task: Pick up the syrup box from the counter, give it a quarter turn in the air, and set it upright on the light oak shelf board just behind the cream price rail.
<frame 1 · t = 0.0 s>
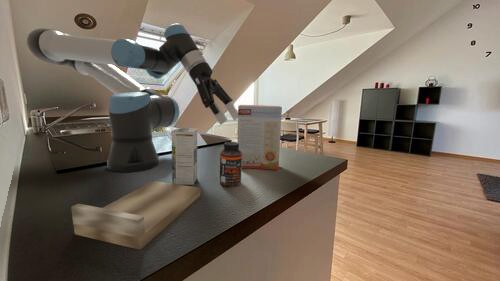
hand: (231, 120, 77), 15 cm above the counter, tool tilted 35°, fingers open, 13 cm apart
cracker box: (257, 167, 77), on the counter
supplement bottle: (230, 183, 62), on the counter
shelf board: (148, 211, 46), on the counter
syrup box: (185, 181, 62), on the counter
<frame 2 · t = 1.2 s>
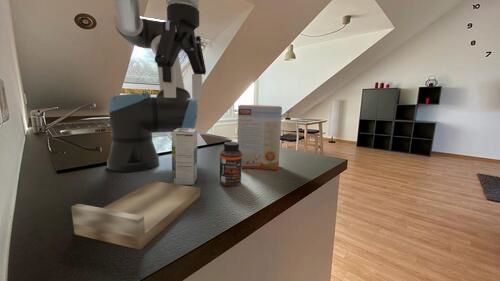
hand: (185, 97, 58), 23 cm above the counter, tool pointing down, fingers open, 13 cm apart
nothing on the counter moved.
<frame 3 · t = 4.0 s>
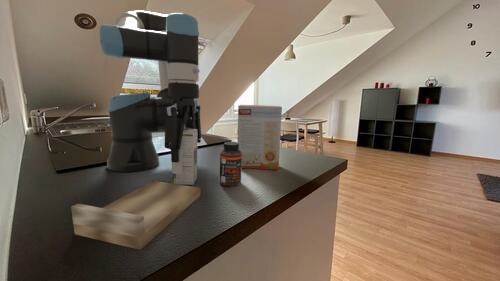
hand: (185, 168, 61), 4 cm above the counter, tool pointing down, fingers closed on syrup box, 7 cm apart
syrup box: (185, 181, 62), on the counter, touching gripper
everything else where it was.
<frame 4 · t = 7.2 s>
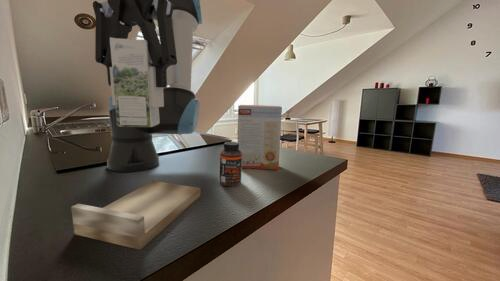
hand: (138, 105, 40), 21 cm above the counter, tool pointing down, fingers closed on syrup box, 7 cm apart
syrup box: (139, 126, 41), point 18 cm above the counter, touching gripper
everything else where it was.
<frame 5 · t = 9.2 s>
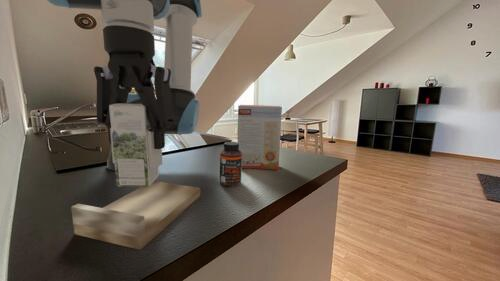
hand: (137, 163, 42), 11 cm above the counter, tool pointing down, fingers closed on syrup box, 7 cm apart
syrup box: (139, 182, 42), point 7 cm above the counter, touching gripper
everything else where it was.
when the fingers open (7 cm above the counter, at t = 10.8 s): syrup box drops 1 cm, resting on shelf board.
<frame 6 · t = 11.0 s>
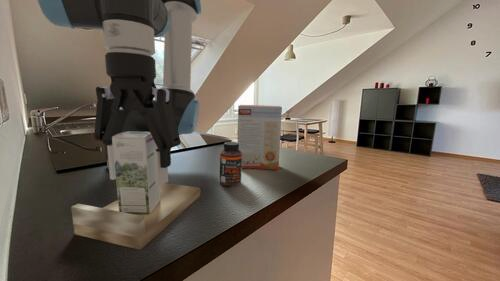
hand: (139, 180, 42), 8 cm above the counter, tool pointing down, fingers open, 9 cm apart
syrup box: (141, 208, 43), point 2 cm above the counter, touching shelf board
everything else where it was.
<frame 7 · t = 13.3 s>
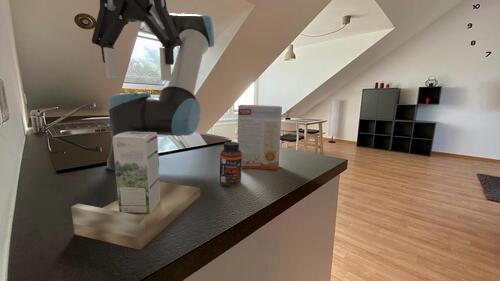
hand: (139, 79, 50), 26 cm above the counter, tool pointing down, fingers open, 13 cm apart
nothing on the counter moved.
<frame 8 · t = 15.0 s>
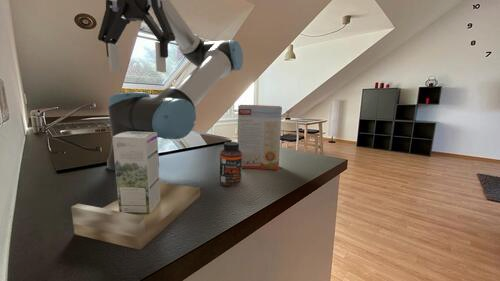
hand: (137, 71, 56), 29 cm above the counter, tool pointing down, fingers open, 13 cm apart
nothing on the counter moved.
at the end: syrup box inside the target area on the shelf board (0.5 cm from its centre), point 1.8 cm above the shelf board's base; syrup box tilted 0°; the gripper is holding nothing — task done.
